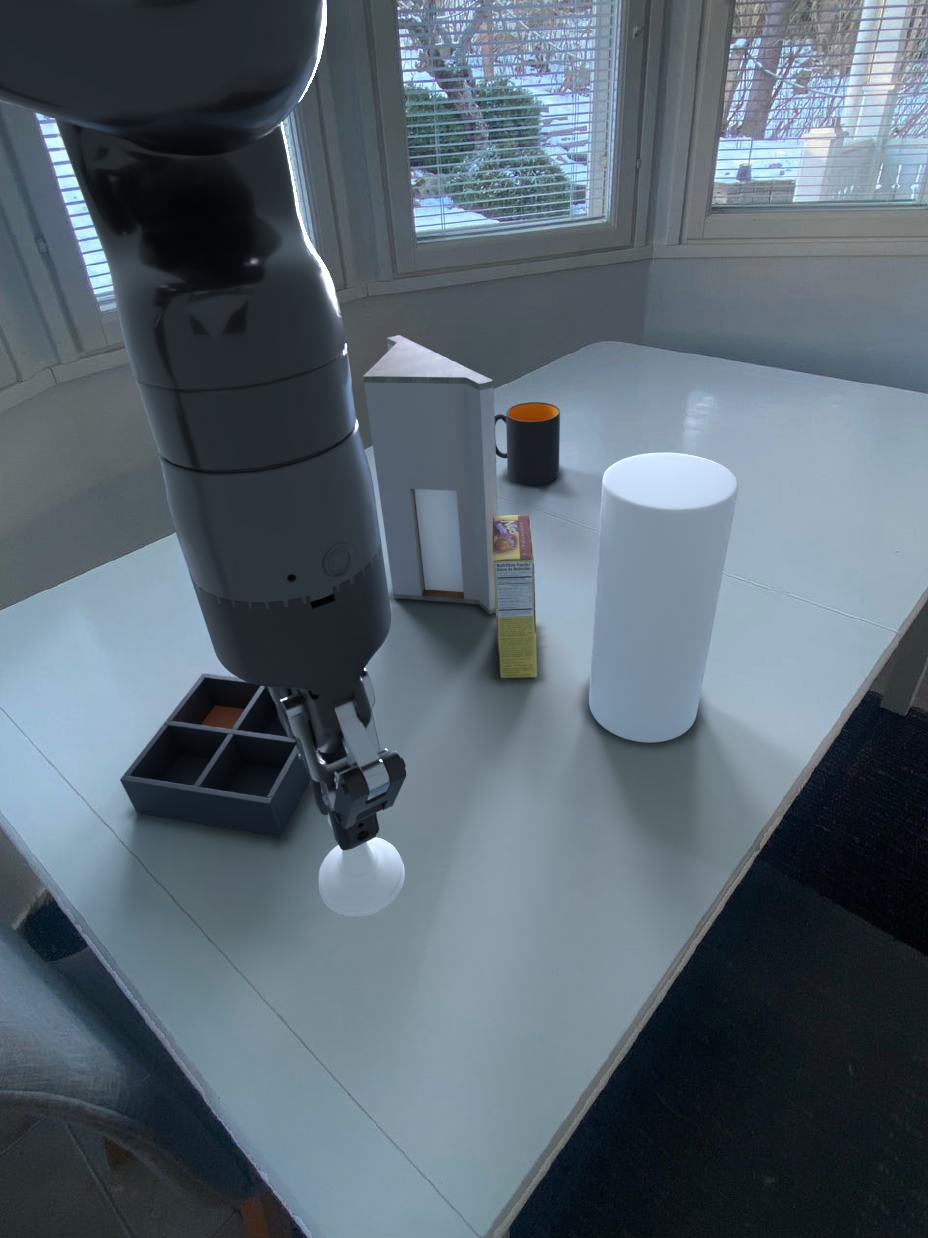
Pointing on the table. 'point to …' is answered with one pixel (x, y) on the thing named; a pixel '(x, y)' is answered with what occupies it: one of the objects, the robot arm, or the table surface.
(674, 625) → the tall pillar cylinder
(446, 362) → the cabinet
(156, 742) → the tray
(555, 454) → the mug
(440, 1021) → the table surface
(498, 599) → the candy box
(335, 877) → the chess piece
